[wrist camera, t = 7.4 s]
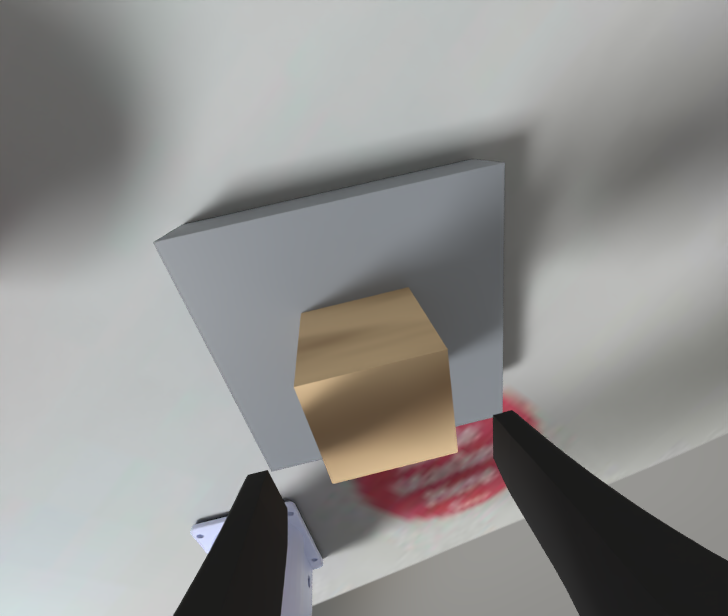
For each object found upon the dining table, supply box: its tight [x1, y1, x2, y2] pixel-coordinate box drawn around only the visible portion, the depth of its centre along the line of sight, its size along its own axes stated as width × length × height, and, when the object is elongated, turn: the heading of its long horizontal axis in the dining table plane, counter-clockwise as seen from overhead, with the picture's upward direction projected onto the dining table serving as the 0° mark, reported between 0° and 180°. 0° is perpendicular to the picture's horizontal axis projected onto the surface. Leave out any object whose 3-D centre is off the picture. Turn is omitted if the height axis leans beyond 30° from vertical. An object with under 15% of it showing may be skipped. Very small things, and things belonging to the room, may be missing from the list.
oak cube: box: [294, 287, 458, 484], centre depth 14 cm, size 5×5×5 cm
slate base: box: [153, 159, 505, 471], centre depth 17 cm, size 14×14×3 cm
